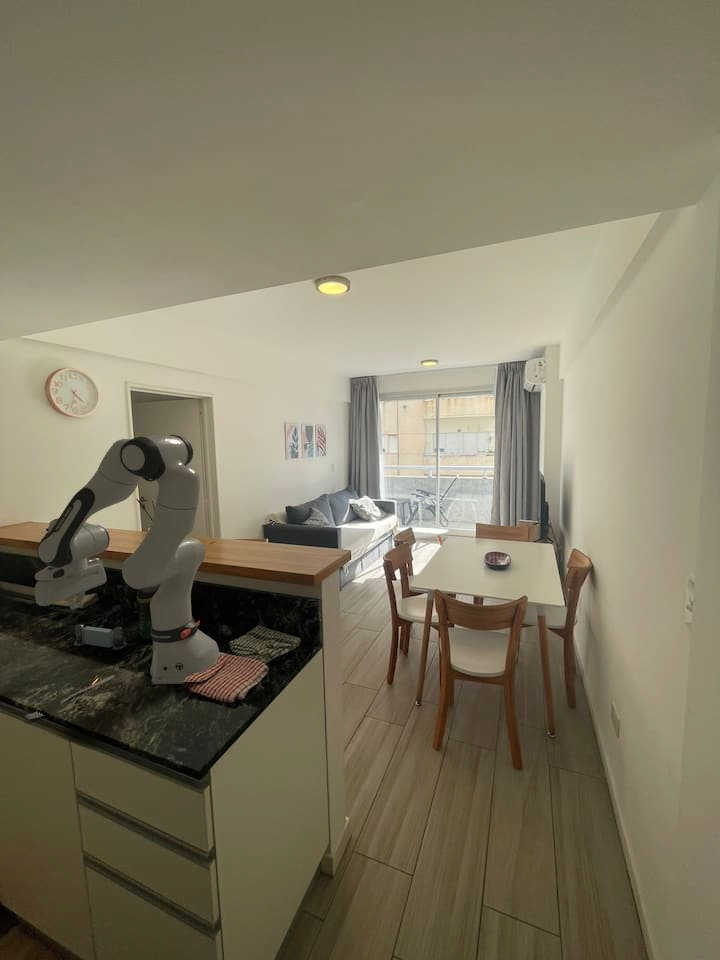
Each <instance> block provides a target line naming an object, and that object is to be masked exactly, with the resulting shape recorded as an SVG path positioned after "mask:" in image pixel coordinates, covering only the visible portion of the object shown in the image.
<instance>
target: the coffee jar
mask: <svg viewBox="0 0 720 960" xmlns="http://www.w3.org/2000/svg"><path fill="white" fill-rule="evenodd" d="M160 585H161V583H160V584H158V585H156V586H152V587H148V588H142V589H136V600H137V602H138V603H139V604H138V605H139V636H140V637H141V638H142V639H146V640H149V639H151V625H152V620H151V610H150V602H151V599H152V597H153V596H154V595H155V593H156V592H157V591H158V589H159V587H160Z"/></svg>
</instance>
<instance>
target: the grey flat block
mask: <svg viewBox="0 0 720 960" xmlns="http://www.w3.org/2000/svg"><path fill="white" fill-rule="evenodd" d="M113 631H114V629H110V628H102V627H96V626H89V625H86V626H84V628H82V629H81V633H82V642H83V644H84V645H91V646H95V647H102V648H103V647H104V648H111V647H113V646H114V645H115V644H114V638H113Z"/></svg>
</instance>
